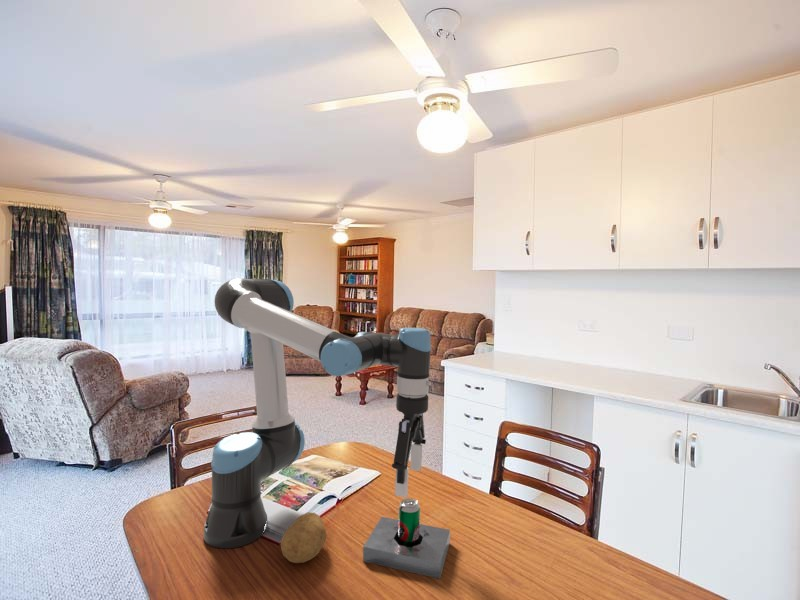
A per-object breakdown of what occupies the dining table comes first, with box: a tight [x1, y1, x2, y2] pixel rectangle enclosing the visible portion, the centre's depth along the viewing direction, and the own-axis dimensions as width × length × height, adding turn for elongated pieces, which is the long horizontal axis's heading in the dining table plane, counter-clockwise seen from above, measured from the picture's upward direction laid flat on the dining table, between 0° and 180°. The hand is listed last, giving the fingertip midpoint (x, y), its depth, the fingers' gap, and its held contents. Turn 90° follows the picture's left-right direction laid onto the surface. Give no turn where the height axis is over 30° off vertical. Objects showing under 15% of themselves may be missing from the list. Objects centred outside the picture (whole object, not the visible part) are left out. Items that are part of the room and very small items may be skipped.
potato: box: [280, 512, 327, 564], centre depth 97 cm, size 10×14×8 cm
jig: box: [362, 516, 451, 579], centre depth 99 cm, size 18×13×4 cm
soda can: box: [398, 497, 421, 547], centre depth 99 cm, size 5×5×12 cm
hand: (408, 482), depth 99 cm, fingers open, 13 cm apart
